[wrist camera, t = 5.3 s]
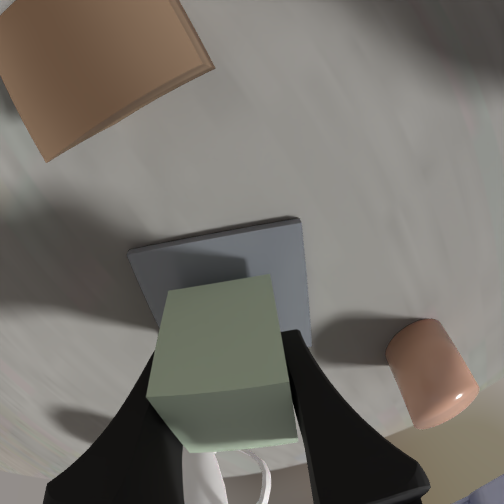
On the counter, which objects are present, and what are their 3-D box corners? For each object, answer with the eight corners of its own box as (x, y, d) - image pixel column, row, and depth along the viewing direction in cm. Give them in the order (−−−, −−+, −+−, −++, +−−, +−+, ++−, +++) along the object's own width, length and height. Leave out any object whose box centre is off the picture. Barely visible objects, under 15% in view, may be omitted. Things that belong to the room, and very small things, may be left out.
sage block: (281, 344, 14) (298, 441, 10) (196, 357, 14) (189, 453, 10) (269, 273, 12) (288, 381, 8) (168, 290, 12) (145, 396, 8)
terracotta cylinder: (448, 311, 16) (489, 374, 12) (434, 355, 18) (465, 413, 14) (389, 328, 16) (424, 401, 12) (381, 371, 18) (406, 436, 14)
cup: (128, 433, 21) (116, 523, 14) (242, 409, 19) (249, 524, 12) (179, 464, 25) (177, 541, 18) (281, 444, 23) (293, 533, 16)
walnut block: (166, -22, 8) (123, -77, 3) (215, 68, 10) (202, 63, 5) (69, 38, 8) (-18, 33, 4) (115, 123, 10) (46, 163, 6)
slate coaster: (299, 218, 13) (301, 222, 12) (310, 340, 16) (312, 346, 16) (129, 249, 13) (126, 254, 12) (178, 360, 16) (178, 365, 16)
